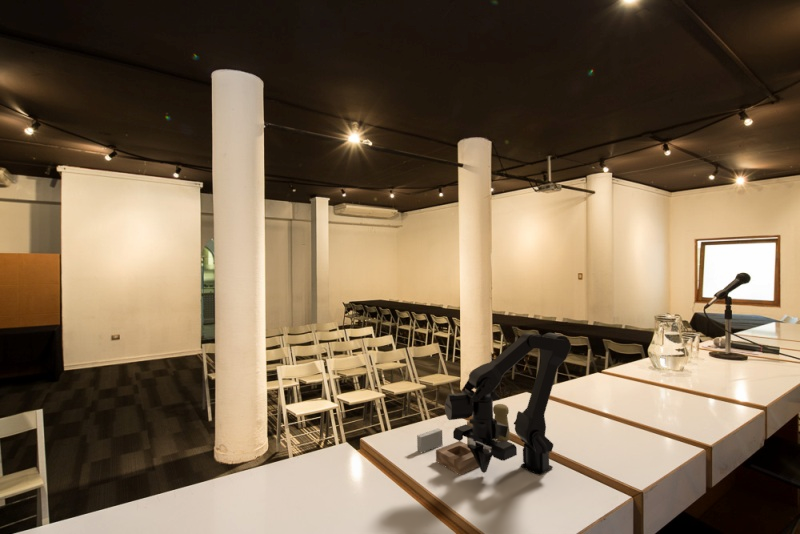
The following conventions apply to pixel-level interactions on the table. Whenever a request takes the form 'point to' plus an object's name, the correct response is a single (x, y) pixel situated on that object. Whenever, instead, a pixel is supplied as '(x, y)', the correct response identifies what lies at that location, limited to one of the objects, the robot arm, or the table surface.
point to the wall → (429, 440)
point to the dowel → (471, 426)
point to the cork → (502, 418)
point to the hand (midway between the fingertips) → (484, 471)
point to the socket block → (456, 457)
